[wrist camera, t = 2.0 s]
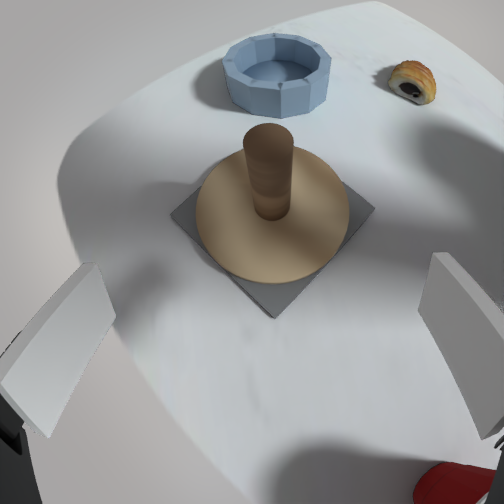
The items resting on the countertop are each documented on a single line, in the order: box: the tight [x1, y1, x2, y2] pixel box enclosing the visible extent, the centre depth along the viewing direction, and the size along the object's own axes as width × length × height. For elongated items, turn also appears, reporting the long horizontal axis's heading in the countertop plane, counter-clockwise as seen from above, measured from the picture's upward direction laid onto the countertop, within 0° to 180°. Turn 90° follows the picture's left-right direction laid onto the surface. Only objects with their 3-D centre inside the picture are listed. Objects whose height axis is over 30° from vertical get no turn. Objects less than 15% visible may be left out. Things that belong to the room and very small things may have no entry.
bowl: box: [222, 33, 331, 118], centre depth 31 cm, size 12×12×4 cm
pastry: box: [388, 60, 436, 105], centre depth 31 cm, size 9×7×4 cm
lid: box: [196, 123, 349, 284], centre depth 23 cm, size 14×14×10 cm
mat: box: [170, 146, 375, 319], centre depth 28 cm, size 14×14×1 cm
